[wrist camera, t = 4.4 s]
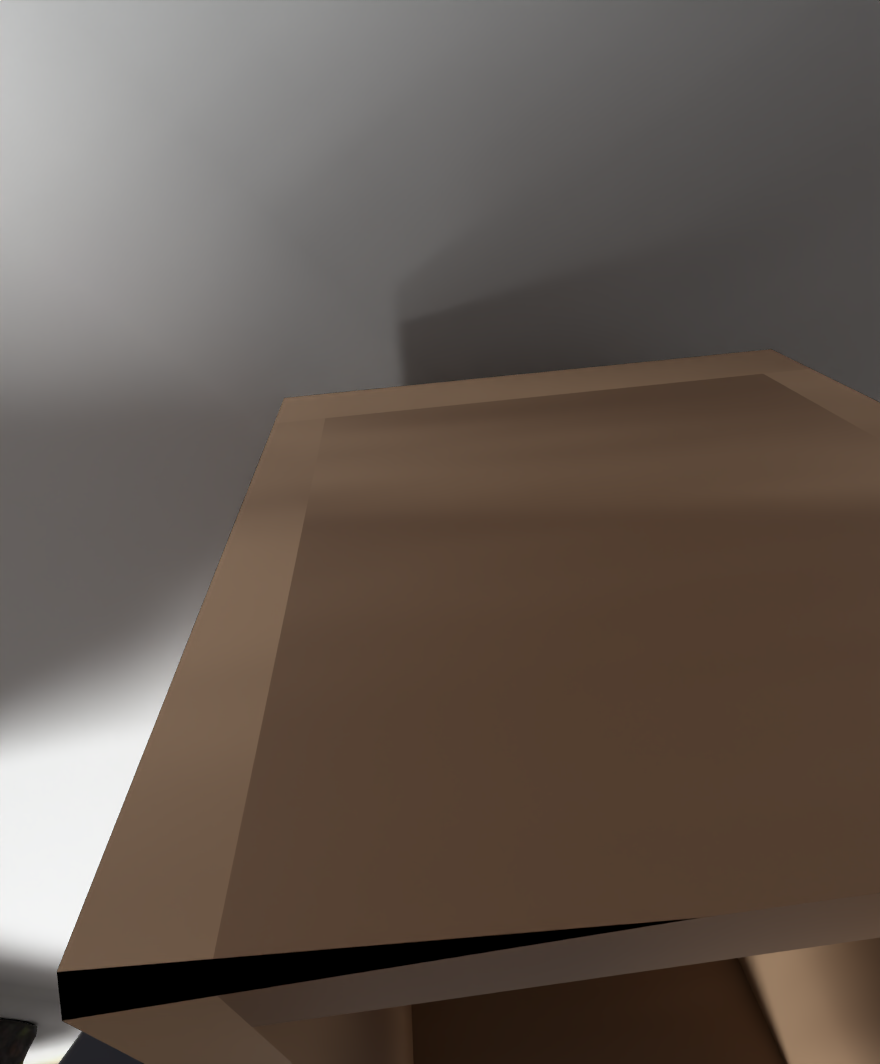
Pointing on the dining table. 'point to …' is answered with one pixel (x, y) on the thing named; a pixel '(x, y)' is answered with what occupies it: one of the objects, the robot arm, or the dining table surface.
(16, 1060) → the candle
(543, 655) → the walnut crate
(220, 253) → the dining table surface
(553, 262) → the dining table surface
